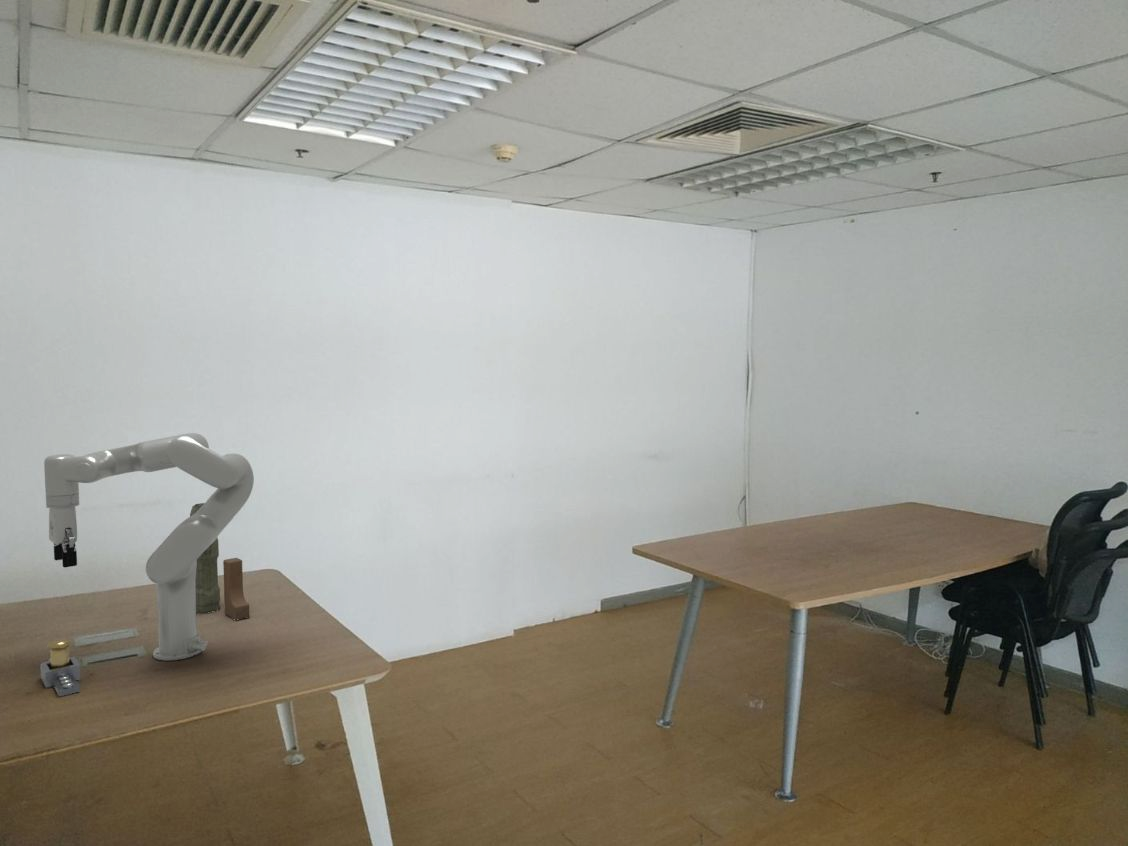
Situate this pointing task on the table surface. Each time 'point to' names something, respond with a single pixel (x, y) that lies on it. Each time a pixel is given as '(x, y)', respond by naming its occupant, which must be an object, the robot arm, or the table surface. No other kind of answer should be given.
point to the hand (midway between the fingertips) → (65, 562)
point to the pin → (59, 652)
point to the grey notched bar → (62, 677)
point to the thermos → (207, 576)
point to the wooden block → (234, 589)
